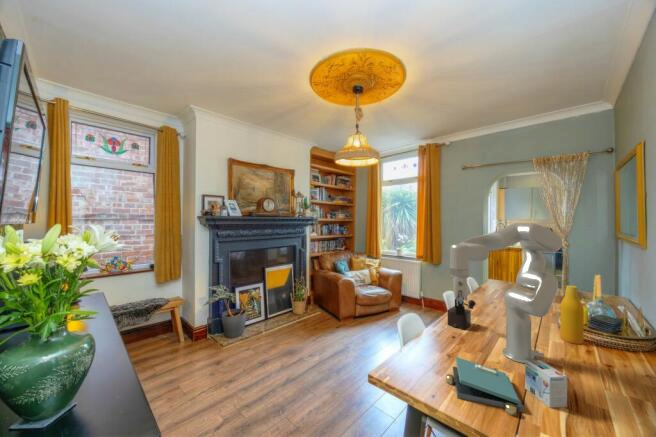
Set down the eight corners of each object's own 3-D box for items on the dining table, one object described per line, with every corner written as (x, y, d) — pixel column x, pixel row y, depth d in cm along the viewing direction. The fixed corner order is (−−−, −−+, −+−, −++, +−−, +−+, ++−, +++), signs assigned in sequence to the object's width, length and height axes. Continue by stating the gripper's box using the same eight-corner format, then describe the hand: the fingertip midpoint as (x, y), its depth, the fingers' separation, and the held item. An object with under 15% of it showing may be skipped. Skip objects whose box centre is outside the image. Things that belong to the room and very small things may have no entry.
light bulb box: (524, 388, 101) (524, 360, 101) (540, 387, 101) (540, 359, 101) (550, 408, 90) (550, 377, 90) (568, 407, 91) (568, 376, 91)
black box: (446, 325, 160) (446, 295, 160) (453, 320, 167) (453, 292, 167) (474, 333, 149) (474, 301, 149) (480, 328, 156) (480, 297, 156)
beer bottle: (556, 338, 142) (556, 285, 142) (564, 335, 147) (565, 283, 147) (579, 346, 134) (579, 289, 134) (586, 342, 138) (587, 287, 138)
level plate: (504, 375, 105) (506, 369, 105) (518, 404, 89) (520, 396, 89) (455, 359, 111) (456, 353, 111) (460, 383, 95) (461, 376, 95)
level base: (505, 377, 108) (505, 371, 108) (526, 419, 85) (526, 411, 85) (444, 365, 116) (444, 360, 116) (448, 401, 93) (448, 394, 93)
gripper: (471, 277, 106) (471, 319, 106) (467, 269, 122) (467, 306, 122) (450, 275, 109) (450, 316, 109) (449, 268, 125) (449, 304, 125)
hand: (459, 311), depth 116 cm, fingers open, 9 cm apart
